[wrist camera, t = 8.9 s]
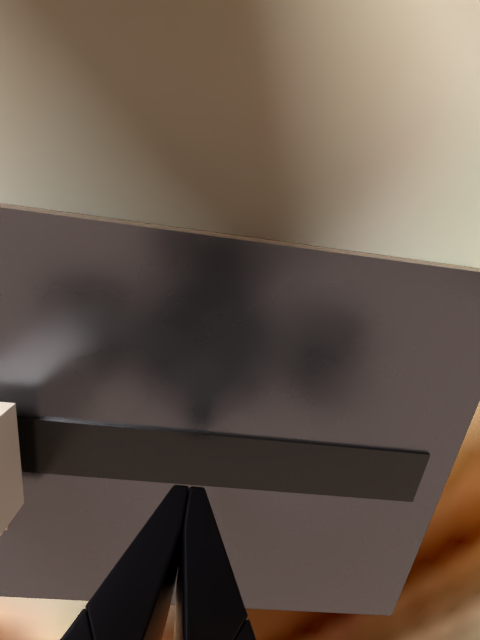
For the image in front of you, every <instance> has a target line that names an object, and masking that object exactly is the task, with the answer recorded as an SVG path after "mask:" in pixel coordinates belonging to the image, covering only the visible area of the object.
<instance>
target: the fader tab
mask: <svg viewBox="0 0 480 640" xmlns="http://www.w3.org/2000/svg"><path fill="white" fill-rule="evenodd" d="M23 504H24V493H23V482H22V471H21V459H20V448H19V437H18V426H17V414H16V403H9V402H0V536H1V535H2V533H3V532H4V531H5V529H6V528H7V526H8V525H9V524H10V522H11V521H12V519H13V518H14V517H15V515H16V514H17V512H18V511H19V510H20V508H21V507H22V505H23Z"/></svg>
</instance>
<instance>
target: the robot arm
mask: <svg viewBox="0 0 480 640" xmlns="http://www.w3.org/2000/svg"><path fill="white" fill-rule="evenodd" d="M177 572H178V573H177ZM176 577H177V582H176ZM175 583H176V595H175V618H174V640H256V638H255V635H254V632H253V629H252V626H251V623H250V621H249V620H248V615H247V612H246V609H245V606H244V603H243V600H242V597H241V594H240V591H239V588H238V585H237V582H236V579H235V576H234V573H233V570H232V567H231V564H230V561H229V558H228V555H227V552H226V549H225V546H224V543H223V540H222V538H221V535H220V532H219V529H218V526H217V523H216V520H215V517H214V514H213V511H212V508H211V505H210V502H209V499H208V496H207V493H206V490H205V488H203V487H196V486H191V487H190V488H189V487H188V486H185V485H174V486H173V487H172V488H171V489H170V491H169V492H168V493H167V495H166V496H165V498H164V499H163V500H162V502H161V503H160V504H159V506H158V507H157V508H156V510H155V511H154V513H153V514H152V515H151V517H150V518H149V519H148V521H147V522H146V524H145V525H144V526H143V528H142V529H141V530H140V532H139V533H138V535H137V536H136V537H135V539H134V540H133V541H132V543H131V544H130V546H129V547H128V548H127V550H126V551H125V552H124V554H123V555H122V557H121V558H120V559H119V561H118V562H117V563H116V565H115V566H114V567H113V569H112V570H111V572H110V573H109V574H108V576H107V577H106V578H105V580H104V581H103V583H102V584H101V585H100V587H99V588H98V589H97V591H96V592H95V594H94V595H93V596H92V598H91V599H90V600H89V602H88V603H87V605H86V609H83V610H82V611H81V612H80V614H79V615H78V617H77V618H76V619H75V621H74V622H73V623H72V625H71V626H70V628H69V629H68V630H67V632H66V633H65V634H64V635H63V637H62V638H61V639H60V640H162V636H163V632H164V628H165V624H166V620H167V616H168V612H169V608H170V604H171V600H172V596H173V592H174V588H175Z"/></svg>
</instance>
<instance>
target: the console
mask: <svg viewBox="0 0 480 640" xmlns="http://www.w3.org/2000/svg"><path fill="white" fill-rule="evenodd" d="M479 401H480V269H479V268H473V267H465V266H458V265H451V264H443V263H436V262H429V261H421V260H414V259H407V258H399V257H392V256H385V255H377V254H370V253H362V252H355V251H348V250H340V249H333V248H326V247H318V246H311V245H304V244H296V243H289V242H282V241H274V240H267V239H259V238H252V237H245V236H237V235H230V234H223V233H215V232H208V231H201V230H193V229H186V228H179V227H171V226H164V225H156V224H149V223H142V222H134V221H127V220H120V219H112V218H105V217H98V216H90V215H83V214H76V213H68V212H61V211H53V210H46V209H39V208H31V207H24V206H17V205H9V204H2V203H0V402H9V403H16V414H17V426H18V437H19V448H20V459H21V471H22V482H23V493H24V504H23V505H22V507H21V508H20V510H19V511H18V512H17V514H16V515H15V517H14V518H13V519H12V521H11V522H10V524H9V525H8V526H7V528H6V529H5V531H4V532H3V533H2V535H1V536H0V596H5V597H25V598H45V599H65V600H86V601H89V600H90V599H91V598H92V596H93V595H94V594H95V592H96V591H97V589H98V588H99V587H100V585H101V584H102V583H103V581H104V580H105V578H106V577H107V576H108V574H109V573H110V572H111V570H112V569H113V567H114V566H115V565H116V563H117V562H118V561H119V559H120V558H121V557H122V555H123V554H124V552H125V551H126V550H127V548H128V547H129V546H130V544H131V543H132V541H133V540H134V539H135V537H136V536H137V535H138V533H139V532H140V530H141V529H142V528H143V526H144V525H145V524H146V522H147V521H148V519H149V518H150V517H151V515H152V514H153V513H154V511H155V510H156V508H157V507H158V506H159V504H160V503H161V502H162V500H163V499H164V498H165V496H166V495H167V493H168V492H169V491H170V489H171V488H172V487H173V486H174V485H185V486H188V487H189V488H190V487H191V486H196V487H203V488H205V490H206V493H207V496H208V499H209V502H210V505H211V508H212V511H213V514H214V517H215V520H216V523H217V526H218V529H219V532H220V535H221V538H222V540H223V543H224V546H225V549H226V552H227V555H228V558H229V561H230V564H231V567H232V570H233V573H234V576H235V579H236V582H237V585H238V588H239V591H240V594H241V597H242V600H243V603H244V606H245V608H248V609H268V610H288V611H308V612H329V613H349V614H369V615H389V616H392V614H393V611H394V609H395V606H396V604H397V601H398V599H399V596H400V594H401V592H402V589H403V587H404V584H405V582H406V579H407V577H408V574H409V572H410V570H411V567H412V565H413V562H414V560H415V557H416V555H417V552H418V550H419V548H420V545H421V543H422V540H423V538H424V535H425V533H426V530H427V528H428V525H429V523H430V521H431V518H432V516H433V513H434V511H435V508H436V506H437V503H438V501H439V499H440V496H441V494H442V491H443V489H444V486H445V484H446V481H447V479H448V477H449V474H450V472H451V469H452V467H453V464H454V462H455V459H456V457H457V455H458V452H459V450H460V447H461V445H462V442H463V440H464V437H465V435H466V432H467V430H468V428H469V425H470V423H471V420H472V418H473V415H474V413H475V410H476V408H477V406H478V403H479ZM177 573H178V572H177ZM176 582H177V577H176ZM175 595H176V583H175V588H174V592H173V596H172V600H171V604H170V605H175Z"/></svg>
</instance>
